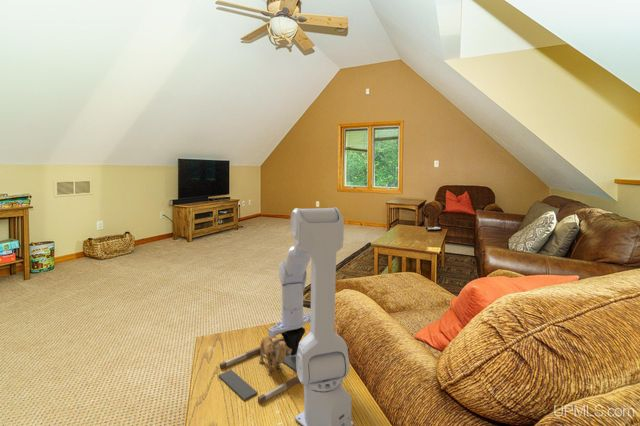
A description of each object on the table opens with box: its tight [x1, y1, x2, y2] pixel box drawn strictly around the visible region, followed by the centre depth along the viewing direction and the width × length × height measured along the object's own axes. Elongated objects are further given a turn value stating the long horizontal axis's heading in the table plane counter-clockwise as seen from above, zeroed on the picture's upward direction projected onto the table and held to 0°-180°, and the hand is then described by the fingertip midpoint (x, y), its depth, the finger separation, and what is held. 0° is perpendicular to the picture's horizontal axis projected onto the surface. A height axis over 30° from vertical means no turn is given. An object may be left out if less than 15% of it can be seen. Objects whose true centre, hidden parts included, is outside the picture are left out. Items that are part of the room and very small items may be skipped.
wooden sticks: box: [219, 336, 301, 404], centre depth 87 cm, size 18×22×1 cm
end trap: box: [217, 369, 258, 401], centre depth 80 cm, size 12×4×1 cm, turn 44°
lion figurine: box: [258, 335, 292, 377], centre depth 87 cm, size 15×5×9 cm, turn 38°
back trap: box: [282, 349, 298, 373], centre depth 92 cm, size 12×8×1 cm
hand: (292, 353), depth 91 cm, fingers closed
